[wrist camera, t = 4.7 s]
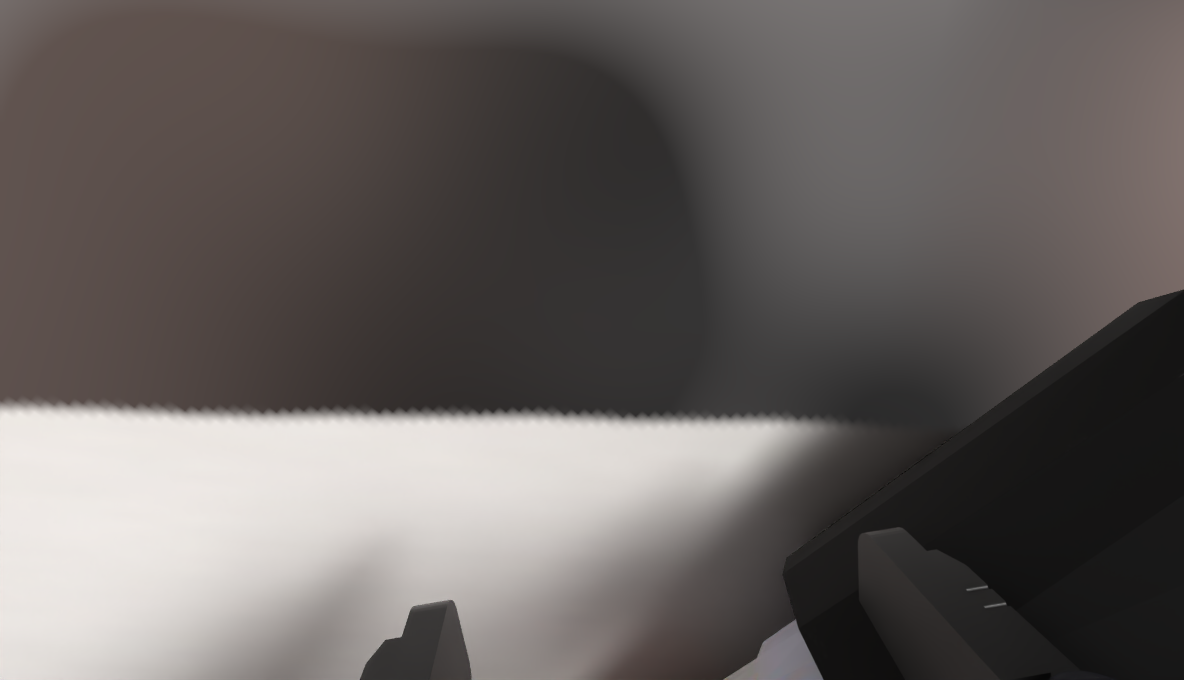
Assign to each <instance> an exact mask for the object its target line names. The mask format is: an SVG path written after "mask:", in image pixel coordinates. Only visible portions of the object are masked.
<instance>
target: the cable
mask: <svg viewBox="0 0 1184 680" xmlns="http://www.w3.org/2000/svg"><path fill="white" fill-rule="evenodd" d="M897 527H900V528H903V529H905V530H906V531H907V532H908V533H909V534H910V535H911V536H912V537H913V538H914V539H915V540H916V541H917V542H918V543H919V544H920V545H921V546H922V547H923V548H924V549H925V550H926V551H930V550H936V549H937V550H939V551H941V552H943V553H944V554H946V555H948V556H950V557H952V558H954V559H956V560H958V561H960V562H961V563H963V564H965V565H967V566H968V567H969V568H970V569H971V570H972V571H973V572H974V573H975V574H976V575H977V576H978V577H980V578H981V579H982V580H983V581H984V582H985V583H986V584H987V586H988V588H989V589H993V590H994V591H995V592H996V593H997V594H998V595H999V596H1000V597H1001V598H1002V599H1004V600H1005V601H1006V604H1007V606H1011V607H1012V608H1013V609H1014V610H1015V611H1017V612H1018V613H1019V614H1020V615H1021V616H1022V617H1023V618H1024V619H1025V620H1026V621H1027V622H1029V623H1030V624H1031V625H1032V626H1033V627H1034V628H1035V629H1036V630H1037V631H1038V632H1039V633H1041V634H1042V635H1043V636H1044V637H1045V638H1046V639H1047V640H1048V641H1049V642H1050V643H1051V644H1052V645H1054V646H1055V647H1056V648H1057V649H1058V650H1059V651H1060V652H1061V653H1062V654H1063V655H1064V656H1066V657H1067V658H1068V659H1069V660H1070V661H1071V662H1072V663H1073V664H1074V665H1075V666H1076V667H1078V668H1079V669H1080V670H1081V671H1088V672H1094V673H1098V674H1102V675H1105V676H1108V677H1112V678H1114V679H1117V680H1184V290H1181V291H1177V292H1174V293H1170V294H1167V295H1163V296H1160V297H1156V298H1153V299H1149V300H1145V301H1142V302H1139V303H1137V304H1136V305H1134V306H1133V307H1131V308H1130V309H1129V310H1127V311H1126V312H1125V313H1123V314H1122V315H1121V316H1119V317H1118V318H1116V319H1115V320H1114V321H1112V322H1111V323H1109V324H1108V325H1107V326H1105V327H1104V328H1103V329H1101V330H1100V331H1098V332H1097V333H1096V334H1094V335H1093V336H1091V337H1090V338H1089V339H1088V340H1086V341H1085V342H1083V343H1082V344H1080V345H1079V346H1078V347H1076V348H1075V349H1074V350H1072V351H1071V352H1070V353H1068V354H1067V355H1066V356H1064V357H1063V358H1061V359H1060V360H1058V361H1057V362H1056V363H1054V364H1053V365H1052V366H1050V367H1049V368H1047V369H1046V370H1045V371H1043V372H1042V373H1041V374H1039V375H1038V376H1036V377H1035V378H1034V379H1032V380H1031V381H1030V382H1028V383H1027V384H1025V385H1024V386H1023V387H1022V388H1020V389H1019V390H1017V391H1016V392H1014V393H1013V394H1012V395H1010V396H1009V397H1008V398H1006V399H1005V400H1003V401H1002V402H1001V403H999V404H998V405H997V406H995V407H994V408H993V409H991V410H990V411H989V412H987V413H986V414H984V415H983V416H982V417H980V418H979V419H978V420H976V421H975V422H973V423H972V424H970V425H969V426H968V427H966V428H965V429H964V430H962V431H961V432H959V433H958V434H957V435H955V436H954V437H953V438H951V439H950V440H948V441H947V442H946V443H944V444H943V445H942V446H940V447H939V448H937V449H936V450H935V451H933V452H932V453H931V454H929V455H928V456H926V457H925V458H924V459H922V460H921V461H920V462H918V463H917V464H915V465H914V466H913V467H911V468H910V469H909V470H907V471H906V472H904V473H903V474H902V475H900V476H899V477H898V478H896V479H895V480H893V481H892V482H891V483H889V484H888V485H887V486H885V487H884V488H882V489H881V490H880V491H878V492H877V493H876V494H874V495H873V496H871V497H870V498H869V499H867V500H866V501H865V502H863V503H862V504H860V505H859V506H858V507H856V508H855V509H854V510H852V511H851V512H849V513H848V514H847V515H845V516H844V517H843V518H841V519H840V520H838V521H837V522H836V523H834V524H833V525H832V526H830V527H829V528H827V529H826V530H825V531H823V532H822V533H821V534H819V535H818V536H816V537H815V538H814V539H812V540H811V541H810V542H808V543H807V544H805V545H804V546H803V547H801V548H800V549H799V550H797V551H796V552H794V553H793V554H792V555H790V556H789V557H788V558H787V559H786V563H785V567H784V571H783V577H784V580H785V584H786V587H787V591H788V594H789V598H790V601H791V605H792V608H793V612H794V615H795V620H794V621H793V622H791V623H790V624H788V625H787V626H785V627H784V628H782V629H781V630H779V631H778V632H777V633H775V634H774V635H772V636H771V637H769V638H768V639H766V640H765V641H764V642H763V643H762V646H761V648H760V651H759V654H758V656H757V658H756V659H754V660H753V661H751V662H750V663H748V664H747V665H745V666H744V667H742V668H740V669H739V670H737V671H736V672H734V673H733V674H731V675H730V676H728V677H727V678H725V679H723V680H905V679H904V677H903V675H902V674H901V672H900V670H899V669H898V667H897V665H896V663H895V662H894V660H893V658H892V656H891V655H890V653H889V651H888V650H887V648H886V646H885V644H884V643H883V641H882V639H881V637H880V636H879V634H878V632H877V631H876V629H875V627H874V625H873V624H872V622H871V620H870V618H869V617H868V615H867V613H866V612H865V610H864V608H863V606H862V605H861V603H860V601H859V578H858V539H859V536H860V535H861V534H862V533H867V532H873V531H879V530H885V529H891V528H897Z"/></svg>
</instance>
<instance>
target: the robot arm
mask: <svg viewBox="0 0 1184 680" xmlns="http://www.w3.org/2000/svg"><path fill="white" fill-rule="evenodd" d="M858 578H859V601H860V603H861V605H862V606H863V608H864V610H865V612H866V613H867V615H868V617H869V618H870V620H871V622H872V624H873V625H874V627H875V629H876V631H877V632H878V634H879V636H880V637H881V639H882V641H883V643H884V644H885V646H886V648H887V650H888V651H889V653H890V655H891V656H892V658H893V660H894V662H895V663H896V665H897V667H898V669H899V670H900V672H901V674H902V675H903V677H904V679H905V680H1117V679H1114V678H1112V677H1108V676H1105V675H1102V674H1098V673H1094V672H1088V671H1081V670H1080V669H1079V668H1078V667H1076V666H1075V665H1074V664H1073V663H1072V662H1071V661H1070V660H1069V659H1068V658H1067V657H1066V656H1064V655H1063V654H1062V653H1061V652H1060V651H1059V650H1058V649H1057V648H1056V647H1055V646H1054V645H1052V644H1051V643H1050V642H1049V641H1048V640H1047V639H1046V638H1045V637H1044V636H1043V635H1042V634H1041V633H1039V632H1038V631H1037V630H1036V629H1035V628H1034V627H1033V626H1032V625H1031V624H1030V623H1029V622H1027V621H1026V620H1025V619H1024V618H1023V617H1022V616H1021V615H1020V614H1019V613H1018V612H1017V611H1015V610H1014V609H1013V608H1012V607H1011V606H1007V604H1006V601H1005V600H1004V599H1002V598H1001V597H1000V596H999V595H998V594H997V593H996V592H995V591H994V590H993V589H989V588H988V586H987V584H986V583H985V582H984V581H983V580H982V579H981V578H980V577H978V576H977V575H976V574H975V573H974V572H973V571H972V570H971V569H970V568H969V567H968V566H967V565H965V564H963V563H961V562H960V561H958V560H956V559H954V558H952V557H950V556H948V555H946V554H944V553H943V552H941V551H939V550H937V549H936V550H930V551H926V550H925V549H924V548H923V547H922V546H921V545H920V544H919V543H918V542H917V541H916V540H915V539H914V538H913V537H912V536H911V535H910V534H909V533H908V532H907V531H906V530H905V529H903V528H900V527H897V528H891V529H885V530H879V531H873V532H867V533H862V534H861V535H860V536H859V539H858ZM360 680H471V669H470V663H469V659H468V654H467V650H466V646H465V642H464V638H463V634H462V629H461V625H460V621H459V617H458V613H457V609H456V606H455V603H454V602H453V600H448V601H442V602H436V603H430V604H424V605H418V606H413V607H412V609H411V611H410V613H409V616H408V619H407V622H406V626H405V629H404V632H403V635H402V637H401V638H395V639H389V640H385V641H384V642H383V644H382V645H381V646H380V647H379V649H378V650H377V651H376V652H375V653H374V655H373V656H372V657H371V658H370V660H369V661H368V662H367V663H366V665H365V668H364V670H363V673H362V676H361V678H360Z"/></svg>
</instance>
